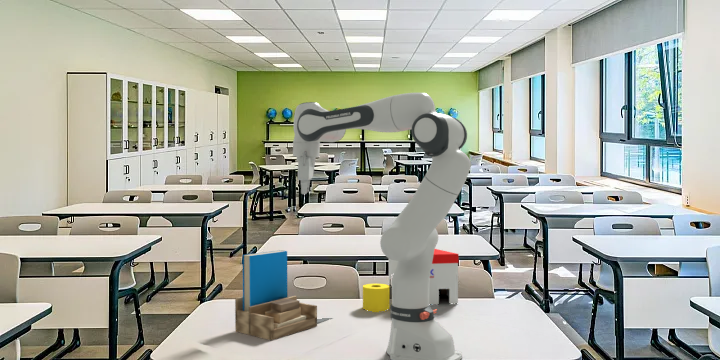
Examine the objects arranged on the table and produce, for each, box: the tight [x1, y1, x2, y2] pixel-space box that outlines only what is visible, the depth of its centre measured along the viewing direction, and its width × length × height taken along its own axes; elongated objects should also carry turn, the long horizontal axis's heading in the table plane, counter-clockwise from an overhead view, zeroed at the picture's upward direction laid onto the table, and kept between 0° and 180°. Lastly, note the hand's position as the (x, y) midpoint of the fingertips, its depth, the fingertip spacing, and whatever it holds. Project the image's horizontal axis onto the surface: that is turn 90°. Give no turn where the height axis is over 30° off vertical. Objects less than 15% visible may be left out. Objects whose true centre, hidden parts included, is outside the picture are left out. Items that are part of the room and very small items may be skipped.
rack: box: [234, 295, 318, 341], centre depth 197 cm, size 17×21×11 cm
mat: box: [317, 318, 333, 325], centre depth 213 cm, size 10×20×1 cm, turn 142°
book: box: [242, 249, 289, 312], centre depth 200 cm, size 17×4×25 cm, turn 140°
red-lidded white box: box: [388, 248, 460, 304], centre depth 242 cm, size 21×35×21 cm, turn 8°
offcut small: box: [271, 299, 300, 313], centre depth 195 cm, size 5×8×2 cm, turn 139°
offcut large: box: [274, 315, 306, 329], centre depth 195 cm, size 7×14×3 cm, turn 145°
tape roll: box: [362, 283, 391, 313], centre depth 221 cm, size 10×10×9 cm
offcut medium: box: [265, 307, 301, 324], centre depth 194 cm, size 6×11×3 cm, turn 149°
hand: (305, 193), depth 197 cm, fingers open, 8 cm apart
